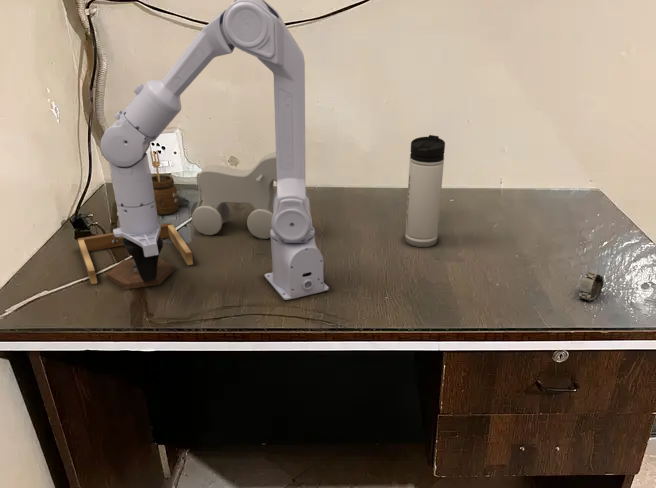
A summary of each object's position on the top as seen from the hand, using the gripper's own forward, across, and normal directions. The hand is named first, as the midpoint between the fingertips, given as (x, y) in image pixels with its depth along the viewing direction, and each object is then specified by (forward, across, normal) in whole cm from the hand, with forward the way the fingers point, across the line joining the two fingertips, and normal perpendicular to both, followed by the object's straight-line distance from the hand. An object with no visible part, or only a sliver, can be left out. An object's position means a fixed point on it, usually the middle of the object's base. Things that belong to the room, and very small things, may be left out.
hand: (148, 278), depth 102 cm
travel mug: (+2, +4, +51) cm, 51 cm away
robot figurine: (+2, -5, 0) cm, 5 cm away
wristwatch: (+2, +35, +64) cm, 73 cm away
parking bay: (+1, -12, 0) cm, 12 cm away
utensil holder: (+2, -33, +10) cm, 34 cm away
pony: (+2, -15, +22) cm, 27 cm away
